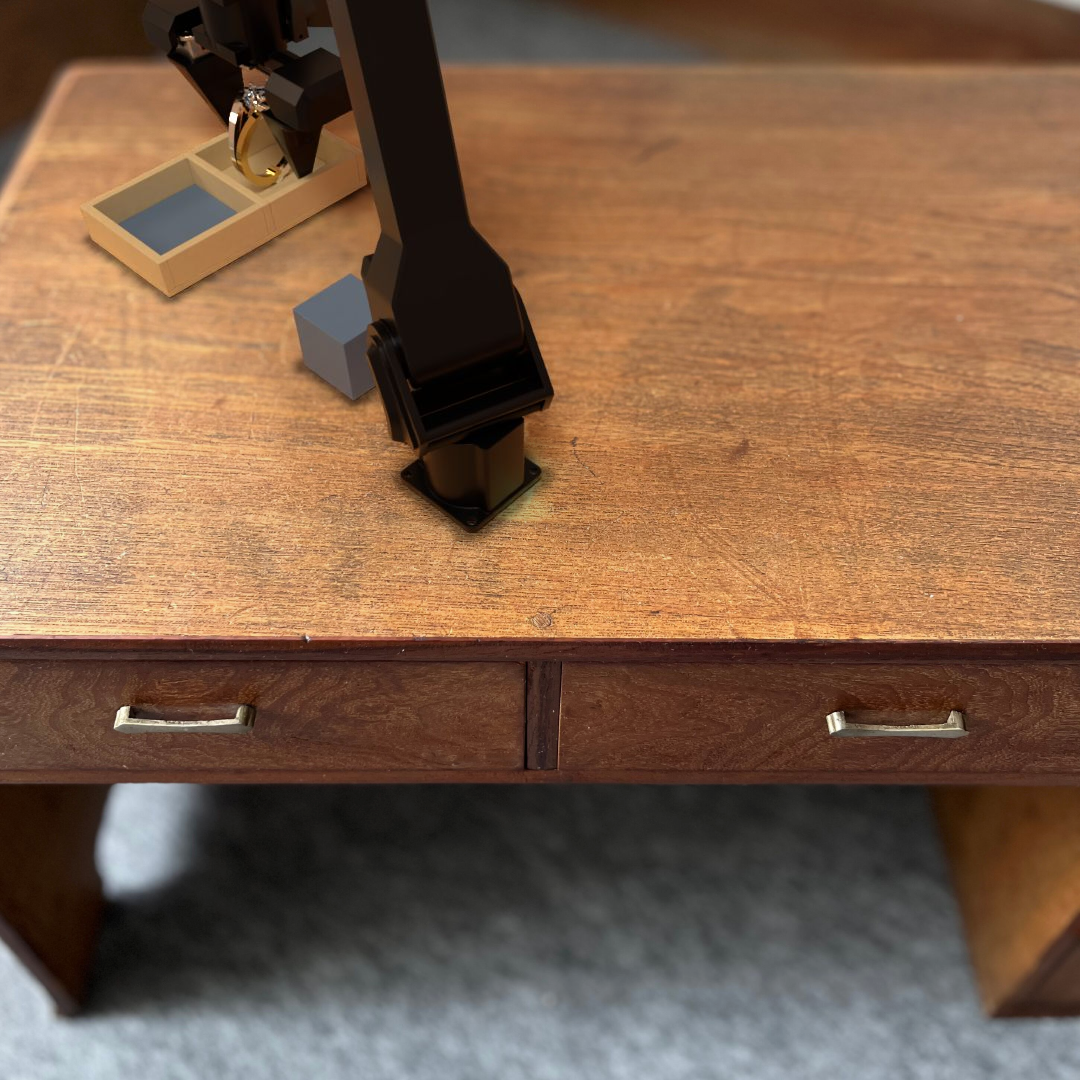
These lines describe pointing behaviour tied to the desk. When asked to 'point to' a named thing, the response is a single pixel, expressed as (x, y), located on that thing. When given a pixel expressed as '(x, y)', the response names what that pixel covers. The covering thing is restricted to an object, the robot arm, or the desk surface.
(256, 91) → the ring
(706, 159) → the desk surface
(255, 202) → the tray
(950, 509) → the desk surface
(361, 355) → the blue block
